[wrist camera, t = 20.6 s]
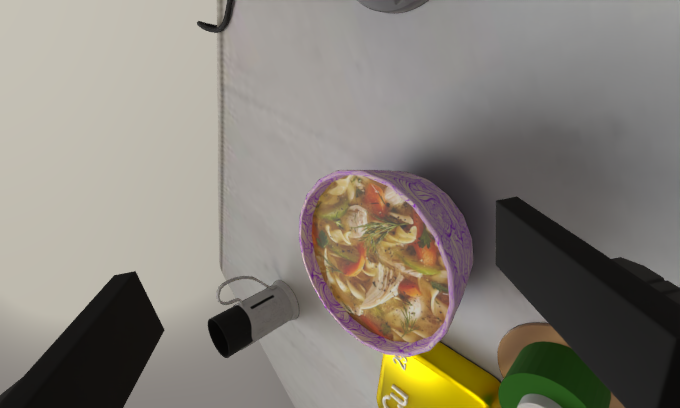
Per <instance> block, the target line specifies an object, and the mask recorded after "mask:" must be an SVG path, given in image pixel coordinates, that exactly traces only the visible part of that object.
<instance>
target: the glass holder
mask: <svg viewBox="0 0 680 408" xmlns="http://www.w3.org/2000/svg"><path fill="white" fill-rule="evenodd" d="M239 279H252V280H255V281H257V282H259V283H261V284H262V285H264V286H265V287H267V288H266V289H264V290H263V291H261V292H259V293H257V294H255V295H253V296H251V297H249V298H247V299H245V300H243V301H242V300H241V299H239V298H236V299H233V300H231V301H229V302H222V301H220V298H219V295H220V291H221V289H222V288H223V287H224V286H225V285H227V284H228V283H230V282H233V281H235V280H239ZM216 297H217V300H218V302H220V303H221V304H223V305H229V304H232V303H234V302H237V301H239V303H238V304H235V305H234V306H233V307H232V308H230V309H228V310H226V311H224V312H222V313H220V314H218V315H216V316H214V317H213V318H211V319H209V320H208V330H209V333H210V336H211V339H212V341H213V343H214V345H215V347H216V349H217V350H218V352H219V353H220V354H221V355H222V356H223V357H225V358H228V357H230V356H231V355H233V354H234V353H236V352H238V351H239V350H242V349H244V348H246V347H248V346H249V345H251V344H252V343H254V342H256V341H257V340H259V339H260V338H262V337H264V336H265V335H267V334H268V333H270V332H272V331H273V330H275V329H276V328H278V327H280V326H281V325H283V324H284V323H286V322H288V321H290V320H295V319H296V318H297V317H298V315H299V306H298V302H297V299H296V297H295V295H294V293H293V291H292V290H291V288H290V287H289V286H288V285H287V284H286V283H284V282H283V281H280V280H278V281H275V282H274V283H273V285H272V286H268V285H266V284H265V283H263V282H262V281H260V280H258V279H256V278H254V277H250V276H240V277H235V278H232V279H230V280H227V281H226V282H224V283H222V284H221V285H220V287H219V288H218V290H217V294H216Z"/></svg>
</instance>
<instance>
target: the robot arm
mask: <svg viewBox="0 0 680 408" xmlns="http://www.w3.org/2000/svg"><path fill="white" fill-rule="evenodd" d="M357 1H358V2H360V3H361V4H362V5H364V6H365V7H367V8H369V9H372V10H375V11H380V12H385V13H403V12H407V11H410V10H413V9H415V8H417V7H419V6H421V5H422V4H424V3H425V2H427V1H428V0H357ZM232 2H233V0H227V5H226V11H225V15H224V19H223V22H222V24H221V25H220V26H219V27H217V25H214V24H209V23H205V22H200V21H198V22H197V25H198V26H199V27H201V28H202V29H204V30H206V31H209V32H214V33H218V32H221V31H223V30H224V28H225V27H226V25H227V23H228V21H229V17H230V13H231V7H232ZM496 265H497V267H498V268H499V269H500V270H501V271H502V272H503V273H504V274H505V275H506V277H507V278H508V279H509V280H510V281H511V282H512V283H513V284H514V285H515V286H516V288H517V289H518V290H519V291H520V292H521V293H522V294H523V295H524V296H525V298H526V299H527V300H528V301H529V302H530V303H531V304H532V305H533V306H534V307H535V309H536V310H537V311H538V312H539V313H540V314H541V315H542V316H543V317H544V319H545V320H546V321H547V322H548V323H549V324H550V325H551V326H552V327H553V329H554V330H555V331H556V332H557V333H558V334H559V335H560V336H561V337H562V338H563V340H564V341H565V342H566V343H567V344H568V345H569V346H570V347H571V348H572V350H573V351H574V352H575V353H576V354H577V355H578V356H579V357H580V358H581V359H582V361H583V362H584V363H585V364H586V365H587V366H588V367H589V368H590V369H591V371H592V372H593V373H594V374H595V375H596V376H597V377H598V378H599V379H600V380H601V382H602V383H603V384H604V385H605V386H606V387H607V388H608V389H609V390H610V392H611V393H612V394H613V395H614V396H615V397H616V398H617V399H618V400H619V402H620V403H621V404H622V405H623V406H624V407H625V408H680V288H679V287H677V286H676V285H674V284H672V283H671V282H669V281H665V280H664V278H663V277H661V276H660V275H658V274H656V273H655V272H653V271H651V270H650V269H648V268H647V267H645V266H643V265H640V264H638V263H635V262H632V261H629V260H627V259H624V258H621V257H619V258H613V259H610V258H609V257H607V256H606V255H604V254H603V253H601V252H600V251H598V250H597V249H595V248H594V247H592V246H591V245H589V244H588V243H586V242H585V241H583V240H582V239H580V238H579V237H577V236H576V235H574V234H573V233H571V232H570V231H568V230H567V229H565V228H564V227H562V226H561V225H559V224H558V223H556V222H554V221H553V220H551V219H550V218H548V217H547V216H545V215H544V214H542V213H541V212H539V211H538V210H536V209H535V208H533V207H532V206H530V205H529V204H527V203H526V202H524V201H523V200H521V199H520V198H518V197H512V198H507V199H502V200H497V201H496ZM163 332H164V328H163V326H162V324H161V322H160V320H159V318H158V316H157V314H156V312H155V310H154V308H153V306H152V304H151V302H150V300H149V298H148V296H147V294H146V292H145V290H144V288H143V286H142V284H141V282H140V280H139V278H138V275H137V274H136V272H135V271H134V272H129V273H124V274H119V275H114V276H113V278H111V280H110V281H109V282H108V283H107V284H106V285H105V286H104V287H103V289H102V290H101V291H100V292H99V293H98V294H97V295H96V296H95V297H94V299H93V300H92V301H91V302H90V303H89V304H88V305H87V306H86V307H85V309H84V310H83V311H82V312H81V313H80V314H79V315H78V316H77V317H76V319H75V320H74V321H73V322H72V323H71V324H70V325H69V326H68V328H67V329H66V330H65V331H64V332H63V333H62V334H61V335H60V337H59V338H58V339H57V340H56V341H55V342H54V343H53V344H52V345H51V347H50V348H49V349H48V350H47V351H46V352H45V353H44V354H43V355H42V357H41V358H40V359H39V360H38V361H37V362H36V363H35V364H34V365H33V367H32V368H31V369H30V370H29V371H28V372H27V373H26V374H25V376H24V377H22V378H21V379H20V380H19V381H17V382H16V383H15V384H14V385H12V386H11V387H10V388H9V389H7V390H6V391H5V392H4V393H2V394H1V395H0V408H123V407H124V405H125V403H126V401H127V399H128V397H129V395H130V394H131V392H132V390H133V388H134V386H135V384H136V382H137V380H138V378H139V377H140V375H141V373H142V371H143V369H144V367H145V366H146V364H147V362H148V360H149V358H150V356H151V354H152V352H153V350H154V349H155V347H156V345H157V343H158V341H159V339H160V337H161V335H162V334H163Z"/></svg>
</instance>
